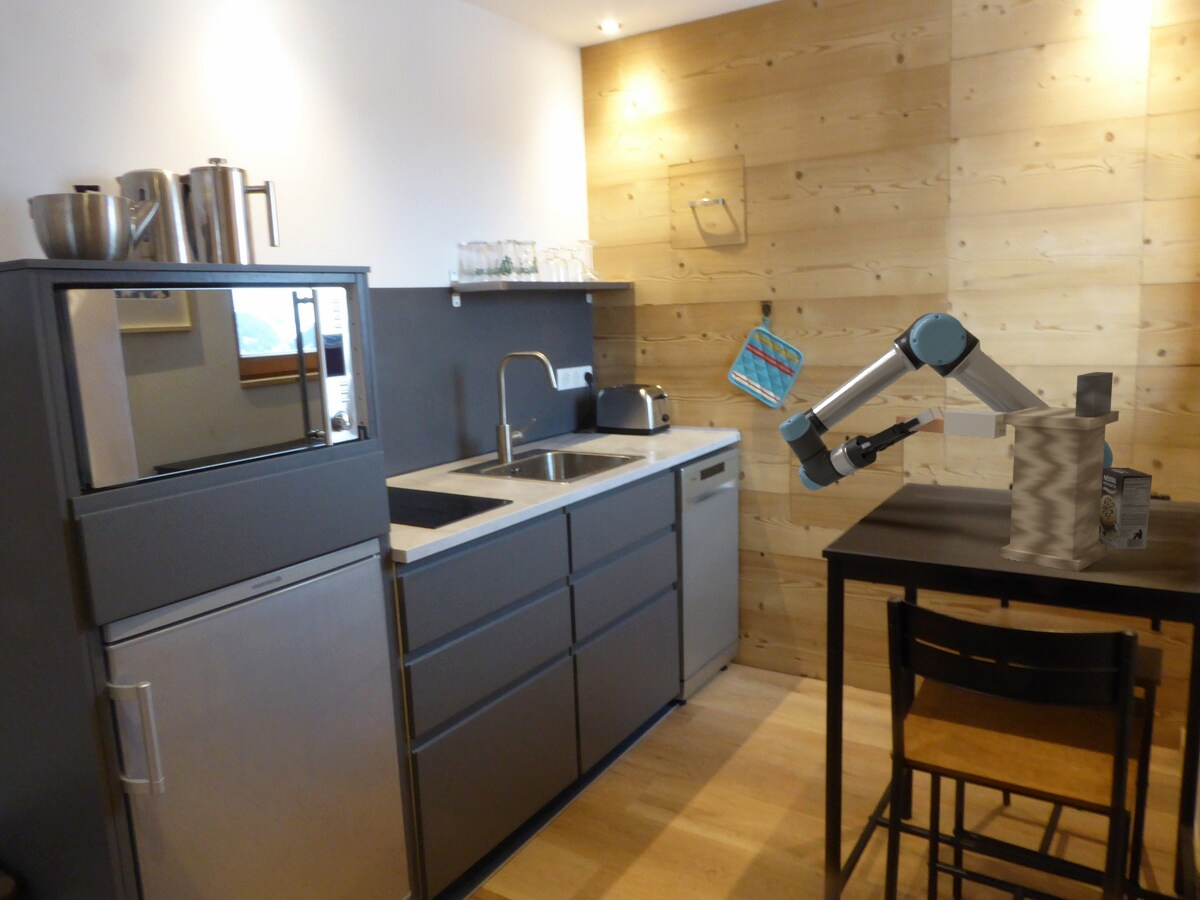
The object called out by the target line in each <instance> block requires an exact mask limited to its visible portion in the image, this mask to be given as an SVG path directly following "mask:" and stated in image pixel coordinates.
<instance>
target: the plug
mask: <svg viewBox="0 0 1200 900" xmlns="http://www.w3.org/2000/svg"><path fill="white" fill-rule="evenodd" d="M1003 414H1007V412H995V411H993V410H992V411H989V410H977V409H976V410H975V409H963V408H962V409H960V408H956V409H951V410H946V411H944V414H943V415H944V418H940V417H935V420H933V421H931V422H929V423H927V424H925V425H923V426H921V427H919V428H917V429H915V430H913V431H918V432H924V433H932V434H933V433H935V434H937V433H938V434H943V435H949V436H958V437H959V436H960V437H969V438H970V437H971V438H981V439H982V438H983V439H993V440H994V439H998V438H1003V437H1005V436H1007V425H1008V424H1003ZM913 416H915V415H913V414H912V415H910V414H901V415H896V416H895V424H899V423H901V422H904V423H905V421H906V420H908V419H910V418H911V417H913ZM908 430H909V429H908Z"/></svg>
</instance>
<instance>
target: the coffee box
mask: <svg viewBox="0 0 1200 900" xmlns="http://www.w3.org/2000/svg"><path fill="white" fill-rule="evenodd" d="M1152 482H1153V475H1152V474H1149V473H1145V472H1142V471H1139V470H1136V469H1134V468H1131V467H1115V466H1113V467H1112V466H1111V467H1108V468H1103V476H1102V492H1101V509H1100V526H1099V542H1102V543H1103V544H1108V546H1110V547H1112V548H1114V549H1116V550H1118V551H1119V550H1146V549H1147V547H1148V546H1147V545H1148V544H1147V543H1148V533H1149V532H1148V531H1149V520H1150V519H1149V518H1150V508H1151V506H1150V505H1151V496H1152V493H1151V492H1152Z"/></svg>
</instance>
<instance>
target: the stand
mask: <svg viewBox="0 0 1200 900" xmlns="http://www.w3.org/2000/svg"><path fill="white" fill-rule="evenodd" d="M1113 375H1114V372H1112V371H1111V372H1109V371H1108V372H1107V371H1106V372H1105V371H1103V372H1102V371H1094V372H1093V371H1092V372H1088V373H1083V374H1078V375H1076V376H1077V377H1076V395H1075V396H1076V397H1075V408H1074V407H1073V408H1072V407H1057V406H1055V407H1054V406H1049V407H1039V406H1036V407H1032V408H1028V409H1023V410H1019V411H1015V412H1011V413H1007V414H1003V424H1007V425H1009V426H1012V425H1015V428H1014V443H1013V444H1014V446H1013V447H1014V448H1013V467H1012V469H1013V470H1012V486H1011V487H1012V488H1011V489H1012V491H1011V511H1010V512H1011V514H1010V532H1009V533H1010V536H1009V537H1010V539H1009V544H1007V545H1005V546H1003V547H1001V548H1000V550H999V558H1000V559H1003V558H1004V559H1005V560H1008V559H1010V561H1014V560H1016V561H1015V562H1020V561H1022V562H1021V563H1025V562H1027V563H1026V564H1031V563H1032V564H1031V565H1036V564H1037V565H1038V566H1043V567H1048V568H1055V569H1059V570H1063V571H1064V570H1065V571H1071V572H1076V573H1079V572H1080V571H1082V570H1084V569H1085V568H1087V567H1089V566H1090V565H1092V564H1094V563H1095V562H1096V561H1098V560H1099V559H1102V558H1103V557H1104V556H1106V555H1107V554H1108V550H1109V549H1108V548H1109V545H1108V544H1106V543H1103V542H1102V543H1100V540H1099V526H1100V509H1101V492H1102V476H1103V459H1104V443H1105V441H1106V440H1105V438H1106V425H1109V424H1112V423H1115V422H1118V421H1119V416H1120V415H1119V414H1120V410H1112V409H1111V407H1112V394H1113V393H1112V392H1113V391H1112V390H1113V380H1114V377H1113Z"/></svg>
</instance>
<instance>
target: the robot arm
mask: <svg viewBox="0 0 1200 900" xmlns="http://www.w3.org/2000/svg"><path fill="white" fill-rule="evenodd" d="M925 365H927V366H929V367H930V368H931V369H932V370H933V371H935V372H936V373H937V374H939V375H940V376H941V377H942V378H944V379H950V378H953V379H955V380H956V381H957V382H959V384H961V385H962V386H963V387H964V388H966V389H967V390H968V391H970V392H971V393H972V394H973V395H974V396H975V397H976V398H977V399H979V400H980V401H981V402H982V403H983V404H986V406H987V407H989V408H990V409H991V410H992V411H993V412H1007V413H1011V412H1015V411H1019V410H1023V409H1028V408H1032V407H1036V406H1039V407H1050V405H1048V404H1047V403H1046V402H1044V400H1042V399H1041V398H1040V397H1038V395H1036V394H1035V393H1034V392H1033V391H1032V390H1030V389H1029V388H1028V387H1026V386H1025V385H1024V384H1023V383H1022V382H1020V381H1019V380H1018V379H1016V378H1015V377H1014V376H1013V375H1012V374H1011V373H1009V372H1008V371H1007V370H1006V369H1004V368H1003V367H1002V366H1001V365H1000V364H999V363H997V362H996V361H995V360H993V358H991V357H990V356H988V355H987V354H986V353H985V352H983V351H982V349H981V341H980V339H979V338H977V337H976V336H975V335H974V334H973V333H971V332H970V331H969V330H968V329H967V328H965V327H964V325H963V324H962V323H961V322H960V320H959V319H957V318H956V317H954V316H952V315H950V314H949V313H944V312H932V313H926V314H923V315H921V316H920V317H918V318H916V319H915V321H914V322H912V324H911V325H910V326H909V327H907V329H905V330H904V331H903V332H902V333H901V334H900V335H899V336H898V337H896V338H895V339H894V340H892V341H891V347H890V348H888V349H887V350H886V351H885V352H883V353H881V354H880V355H879V356H878V357H876V358H875V359H874V360H872V361H871V362H869V363H868V364H867V365H866V366H865V367H863V368H861V370H859V371H858V372H856V373H855V374H854V375H852V376H851V377H850V378H849V379H847V380H845V381H844V382H843V383H842V384H841V385H839V386H837V387H836V388H835V389H834V390H833V391H831V392H830V393H828V394H827V395H825V397H823V398H822V399H821V400H819V401H818V402H816V403H815V404H814V405H813V406H812V407H810V408H809V409H808V410H806V411H805V412H801V411H800V412H798V413H795V414H793V415H792V416H790V417H789V418H788V419H786V420H784V421H783V422H782V423H780V424H779V426H778V431H779V432H780V434H781V436H782V437H783V440H784V441H785V442H786V443H787V445H788V446H789V447H790V449H791V450H792V452H793V454H794V455H795V456H796V457H797V459H798V461H799V462H800V464H801V466H800V467H799V468H798V476H799V477H800V479H799V480H800V482H801V484H802V485H803V486H804V487H805V488H806V489H807V490H810V491H817V490H821V489H822V488H826V487H828V486H830V485H832V484H835V483H836V482H837V481H839V480H842V479H843V478H846V477H848V476H849V475H850V477H853V476H855V472H857V471H859V470H862V469H864V468H866V467H868V466H870V465H872V464H874V463H875V462H876V461H877V457H878V456H877V453H878V452H880V453H881V452H883V451H885V450H887V449H888V448H890V447H891V446H895V444H897V443H898V442H901V441H903V440H905V439H906V438H908V437H911V436H913V435H914V434H916V433H919V431H913V430H915V429H917V428H919V427H921V426H923V425H925V424H927V423H929V422H931V421H933V420H935V417H940V418H944V414H943V412H942V409H941V408H940V406H937V407H934V408H933V409H931V408H927V409H925V410H923V411H922V412H919V413H917V414H915V415H914V416H913V417H911V418H910V419H908V420H906V421H905V423H904V422H901V423H899V424H896V423H894V424H892V426H890V427H888V428H886V429H884V430H882V431H880V432H878V433H876V434H874V435H871V436H869V437H867V436H865V435H862V434H859V435H857V436H854V437H853V438H852V437H851V438H850V439H849V440H847V441H844V442H843V443H840V444H839V445H836V446H834V447H833V448H832V449H830V450H829V448H828V446H827V445H826V444H825V443H824V441H823V440H822V438H821V437H822V436H823V435H824V434H826V433H827V432H828V431H829V430H831V429H832V428H833V427H835V426H836V425H838V424H839V423H840V422H842V421H843V420H844V419H846V418H847V417H848V416H850V415H851V414H852V413H855V411H857V410H858V409H860V408H861V407H863V406H864V405H865V404H867V402H869V401H871V400H872V399H873V398H874V397H876V396H878V394H880V393H881V392H883V391H884V390H885V389H887V388H888V387H890V386H891V385H892V384H894V383H895V382H896V381H898V380H900V378H902V377H903V376H905V375H906V374H907V373H909V372H912V371H913V372H917V371H918V370H920V369H921V368H923V367H924V366H925ZM1011 426H1012V427H1013V428H1014V429H1015V425H1011ZM908 429H909V430H908ZM1112 451H1113V450H1112V449H1111V447H1110V445H1109V443H1108V442H1107V441H1106V440H1105V443H1104V459H1103V468H1108V467H1112V466H1113V460H1114V456H1113V452H1112Z"/></svg>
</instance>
